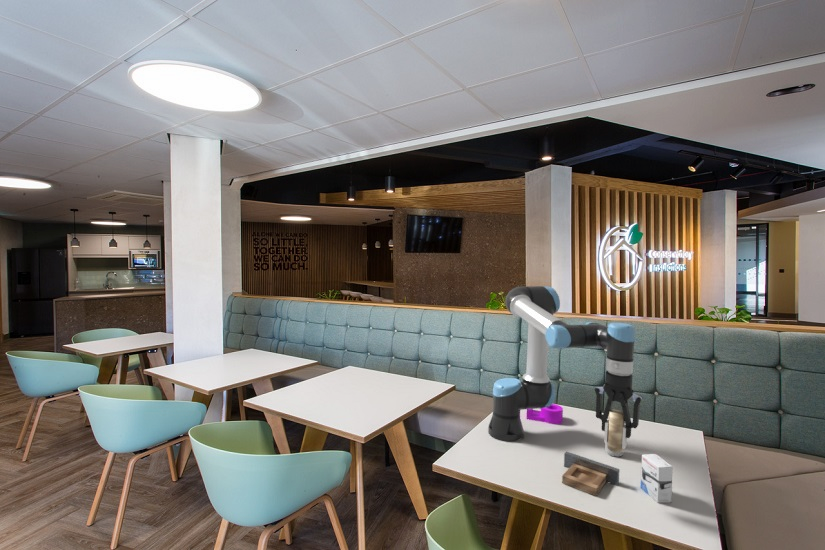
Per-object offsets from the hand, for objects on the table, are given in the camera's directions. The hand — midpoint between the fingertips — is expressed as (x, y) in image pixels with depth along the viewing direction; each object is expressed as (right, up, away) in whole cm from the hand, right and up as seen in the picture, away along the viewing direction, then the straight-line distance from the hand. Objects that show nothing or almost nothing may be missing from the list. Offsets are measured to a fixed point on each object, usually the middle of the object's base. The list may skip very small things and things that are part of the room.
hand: (615, 443), depth 125 cm
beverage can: (+15, -17, +30) cm, 37 cm away
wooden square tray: (-6, -17, +9) cm, 20 cm away
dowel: (0, -2, 0) cm, 2 cm away
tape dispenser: (-2, -15, +62) cm, 64 cm away
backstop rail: (-2, -17, +14) cm, 22 cm away
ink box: (+14, -18, +3) cm, 23 cm away
